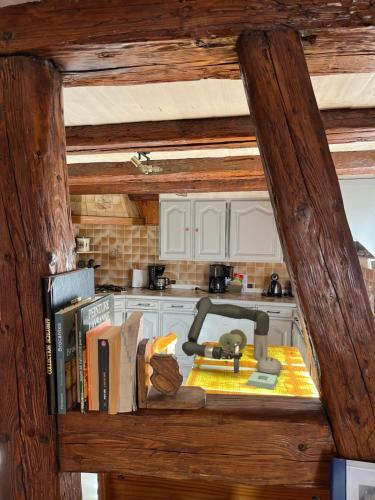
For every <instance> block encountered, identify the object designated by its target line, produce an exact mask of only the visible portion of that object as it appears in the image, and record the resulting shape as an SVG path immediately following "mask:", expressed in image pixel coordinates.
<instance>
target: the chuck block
mask: <svg viewBox="0 0 375 500" xmlns="http://www.w3.org/2000/svg"><path fill="white" fill-rule="evenodd" d="M277 382H278V376H276V375H270V374H264V373H259V372H258V371H252V373H251V374H250V376H249V377H248V379H247V386H250V387H255V388H259V389H260V388H261V389H266V390H271V391H274V389H275V387H276V384H277Z"/></svg>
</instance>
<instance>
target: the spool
mask: <svg viewBox="0 0 375 500" xmlns="http://www.w3.org/2000/svg"><path fill="white" fill-rule="evenodd" d="M237 341H239V344H238V345H239V349H240V350H243V349H244V348H245V347H246V345H247V343H248V339H247V335H246V334H245V332H244V331H242V330H241V329H237V328H235V329H232V330H230V332H226V333H223V334H221V336H220V337H219V340H218V347H222V349H223V350H228V349H231V350H234V344H235V343H236V342H237Z"/></svg>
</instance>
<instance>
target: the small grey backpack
mask: <svg viewBox="0 0 375 500" xmlns="http://www.w3.org/2000/svg"><path fill="white" fill-rule="evenodd" d="M256 366H257V372H258V373H264V374H270V375H276V376H277V377H279V375H280V373H281V369H282V367H283V365H282V362H281V361H280V360H279V359H278V358H275V357H270V356H269V357H268V356H267V357H262V358H261V359H260V360H257V362H256Z"/></svg>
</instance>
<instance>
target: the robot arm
mask: <svg viewBox="0 0 375 500" xmlns="http://www.w3.org/2000/svg"><path fill="white" fill-rule="evenodd" d="M195 309H196V311H197V313H196V315H195V318H194V319H193V322H192V323H191V325H190V327H189V328H190V329H189V330H188V333H187V341H185V342H183V343H182V344H181V349H182V352H183V353H184V354H185V355H186V356H187V357H192V356H194V355H197V356H198V357H200V358H207V359H211V360H230V361H231V360H234V358H235V359H239V360H241V359H242V358H243V353H242V352H239V355H236V354H234V350H231V349H228V350H223V349H222V347H219V345H217V346H216V345H211V344H210V345H208V344H206V345H205V344H200V343H198V340H199V337H200V335H201V331H202V329H203V326H204V323H205V320H206V317H207V315H208V314H209V315H217V316H220V317H226V318H229V319H233V320H248V321H251V322H255V323H256V327H255V329H254V330H253V335H254V337H253V359H254V360H255V361H258V360H260V359H261V358H262V357H268V339H269V335H268V334H269V330H270V315H269V314H268V313H267V312H265V311H263V310H261V309H251V308H247V307H243V306H240V305H236V304H231V303H220V304H219V303H213V302H212V300H211V299H210V297H208V296H204V297H200V299H198V301H197V302H196V304H195Z"/></svg>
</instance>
